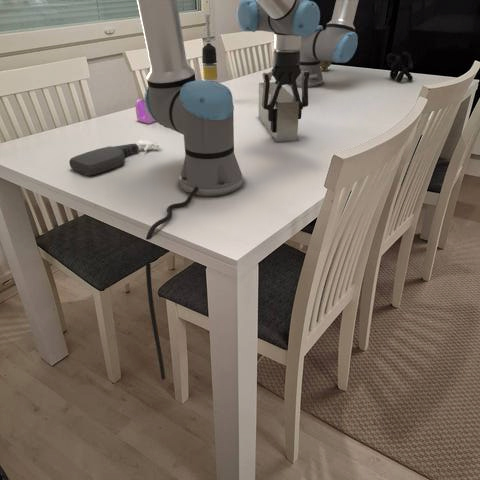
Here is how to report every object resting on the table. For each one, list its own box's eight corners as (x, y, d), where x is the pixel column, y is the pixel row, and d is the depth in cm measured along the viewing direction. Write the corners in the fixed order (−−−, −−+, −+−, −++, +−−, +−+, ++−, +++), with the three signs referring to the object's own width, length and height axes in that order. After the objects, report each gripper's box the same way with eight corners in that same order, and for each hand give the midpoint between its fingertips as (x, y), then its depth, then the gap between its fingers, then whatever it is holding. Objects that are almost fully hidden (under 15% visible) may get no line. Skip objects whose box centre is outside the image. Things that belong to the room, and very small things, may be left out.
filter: (220, 99, 177) (217, 15, 161) (206, 100, 176) (202, 16, 160) (215, 96, 182) (212, 14, 166) (202, 97, 180) (197, 14, 164)
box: (297, 140, 136) (299, 101, 130) (276, 142, 135) (277, 102, 129) (276, 116, 157) (277, 81, 151) (258, 117, 156) (258, 82, 150)
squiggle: (400, 92, 202) (376, 71, 205) (417, 76, 202) (392, 56, 205) (405, 81, 191) (380, 59, 194) (423, 64, 191) (397, 42, 194)
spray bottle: (67, 168, 120) (139, 144, 136) (91, 178, 114) (163, 151, 130) (65, 157, 118) (137, 134, 134) (89, 167, 112) (162, 142, 128)
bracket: (148, 123, 152) (145, 102, 148) (137, 120, 155) (134, 100, 151) (175, 114, 161) (173, 94, 157) (164, 111, 164) (162, 92, 160)
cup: (314, 71, 219) (315, 53, 215) (319, 68, 225) (320, 51, 220) (329, 72, 216) (330, 54, 212) (333, 69, 222) (335, 52, 217)
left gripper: (315, 46, 129) (310, 124, 142) (250, 49, 127) (250, 129, 139) (324, 50, 123) (318, 131, 135) (256, 54, 120) (255, 136, 133)
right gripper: (322, -50, 147) (317, 21, 158) (248, -49, 144) (248, 24, 155) (330, -50, 141) (324, 24, 152) (252, -49, 137) (252, 27, 149)
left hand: (284, 130), depth 137 cm, fingers closed on box, 6 cm apart
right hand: (286, 24), depth 153 cm, fingers open, 13 cm apart
